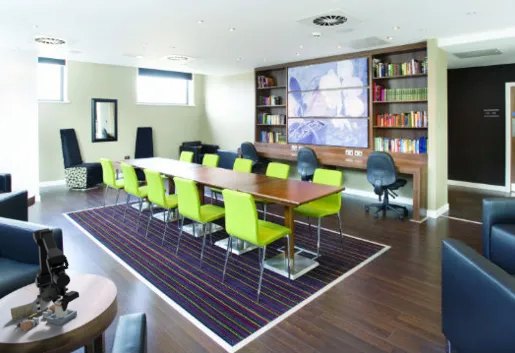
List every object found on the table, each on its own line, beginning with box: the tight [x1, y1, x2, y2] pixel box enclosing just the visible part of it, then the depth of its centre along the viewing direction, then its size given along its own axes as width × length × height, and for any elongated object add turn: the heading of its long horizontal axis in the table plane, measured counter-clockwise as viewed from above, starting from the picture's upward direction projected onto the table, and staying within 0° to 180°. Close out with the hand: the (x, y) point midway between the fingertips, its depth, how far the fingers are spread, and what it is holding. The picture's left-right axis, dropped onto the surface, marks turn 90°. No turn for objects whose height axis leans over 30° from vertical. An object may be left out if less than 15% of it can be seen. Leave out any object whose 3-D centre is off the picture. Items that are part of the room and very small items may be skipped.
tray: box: [46, 308, 78, 326], centre depth 176 cm, size 9×10×2 cm
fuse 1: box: [19, 318, 33, 332], centre depth 168 cm, size 3×3×4 cm
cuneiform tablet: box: [10, 300, 42, 321], centre depth 178 cm, size 7×4×12 cm
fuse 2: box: [49, 303, 55, 314], centre depth 182 cm, size 3×3×4 cm
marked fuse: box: [53, 297, 68, 318], centre depth 175 cm, size 4×4×8 cm
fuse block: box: [16, 306, 53, 328], centre depth 175 cm, size 7×16×2 cm, turn 160°
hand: (61, 310), depth 175 cm, fingers closed on marked fuse, 3 cm apart
